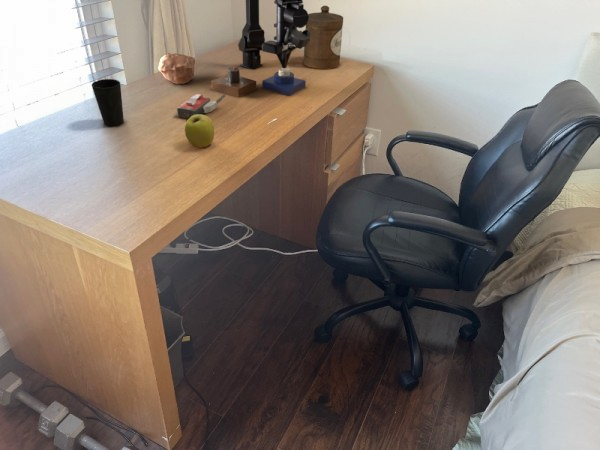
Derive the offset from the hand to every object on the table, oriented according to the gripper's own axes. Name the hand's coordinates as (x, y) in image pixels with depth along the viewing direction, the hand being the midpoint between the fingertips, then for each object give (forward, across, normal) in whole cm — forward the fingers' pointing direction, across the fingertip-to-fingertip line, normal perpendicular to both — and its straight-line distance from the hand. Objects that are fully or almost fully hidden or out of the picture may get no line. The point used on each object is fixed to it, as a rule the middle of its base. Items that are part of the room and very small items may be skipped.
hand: (284, 68), depth 167 cm
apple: (+7, -51, -7) cm, 52 cm away
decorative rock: (+7, -18, +34) cm, 39 cm away
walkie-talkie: (+7, -32, +10) cm, 34 cm away
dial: (+4, -12, +13) cm, 18 cm away
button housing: (+7, 0, 0) cm, 7 cm away
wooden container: (+7, +33, +4) cm, 34 cm away
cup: (+7, -56, +23) cm, 61 cm away
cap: (+3, 0, 0) cm, 3 cm away
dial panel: (+7, -12, +13) cm, 19 cm away
